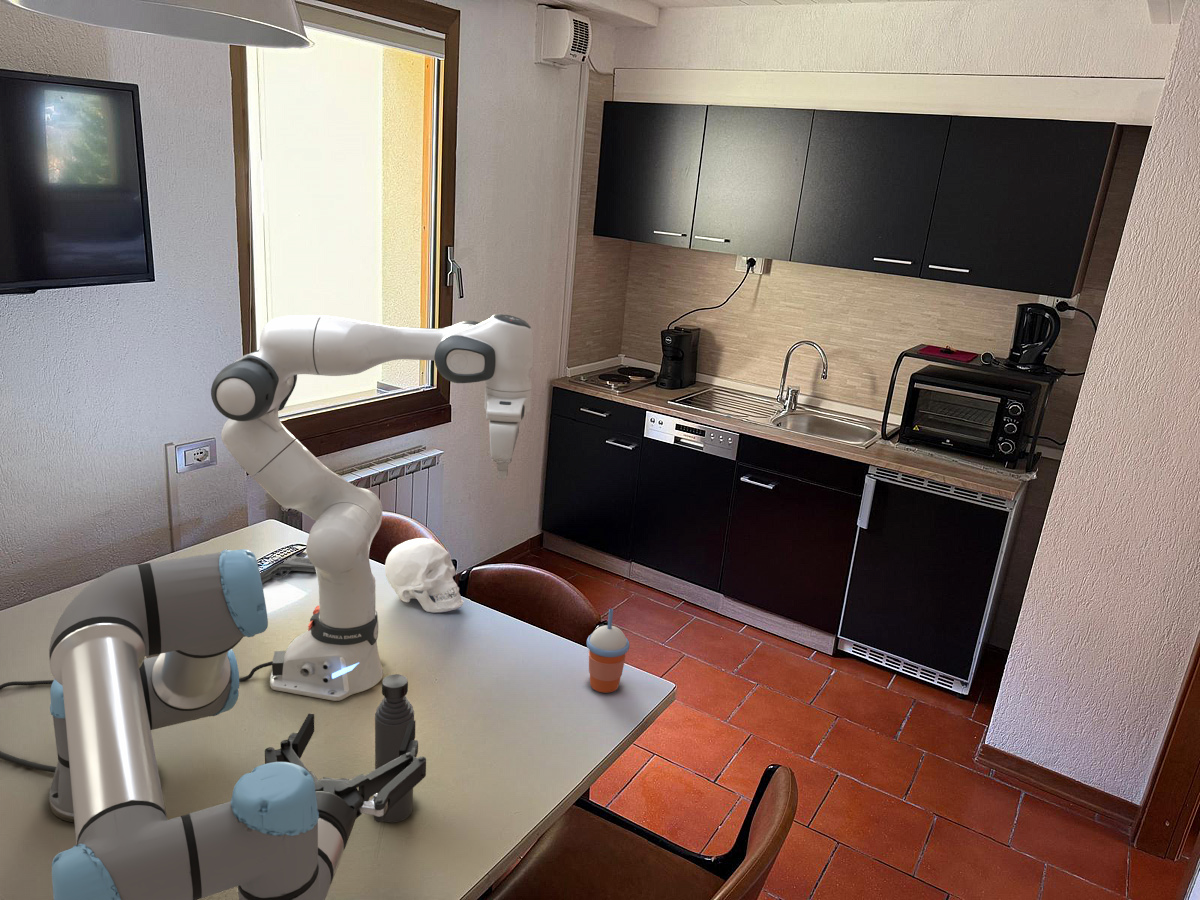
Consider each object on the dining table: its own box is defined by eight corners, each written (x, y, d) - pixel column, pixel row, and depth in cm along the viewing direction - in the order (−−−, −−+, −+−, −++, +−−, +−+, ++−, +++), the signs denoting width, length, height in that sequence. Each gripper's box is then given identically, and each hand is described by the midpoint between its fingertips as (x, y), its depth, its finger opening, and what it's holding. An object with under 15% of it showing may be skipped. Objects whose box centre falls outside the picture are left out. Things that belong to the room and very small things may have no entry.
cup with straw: (621, 700, 178) (628, 623, 173) (578, 692, 180) (585, 616, 174) (628, 677, 187) (636, 603, 181) (588, 670, 188) (594, 596, 183)
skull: (448, 622, 203) (451, 561, 199) (372, 599, 211) (374, 540, 207) (477, 602, 215) (480, 543, 211) (405, 581, 223) (406, 524, 219)
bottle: (414, 819, 141) (416, 692, 134) (376, 825, 139) (375, 695, 132) (411, 794, 147) (413, 670, 140) (374, 799, 145) (374, 674, 138)
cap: (408, 698, 135) (408, 686, 135) (382, 701, 134) (382, 689, 133) (406, 684, 139) (406, 672, 138) (381, 686, 138) (381, 675, 137)
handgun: (292, 594, 211) (247, 586, 213) (325, 565, 228) (283, 558, 229) (291, 586, 211) (246, 578, 212) (325, 557, 227) (283, 550, 229)
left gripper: (200, 861, 96) (270, 743, 116) (423, 874, 97) (453, 754, 117) (196, 805, 94) (268, 695, 114) (424, 819, 94) (455, 707, 115)
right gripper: (496, 387, 172) (494, 452, 176) (485, 413, 153) (482, 486, 157) (528, 390, 172) (524, 455, 176) (520, 416, 153) (516, 488, 157)
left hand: (362, 725), depth 115 cm, fingers open, 13 cm apart
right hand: (504, 470), depth 166 cm, fingers open, 8 cm apart
